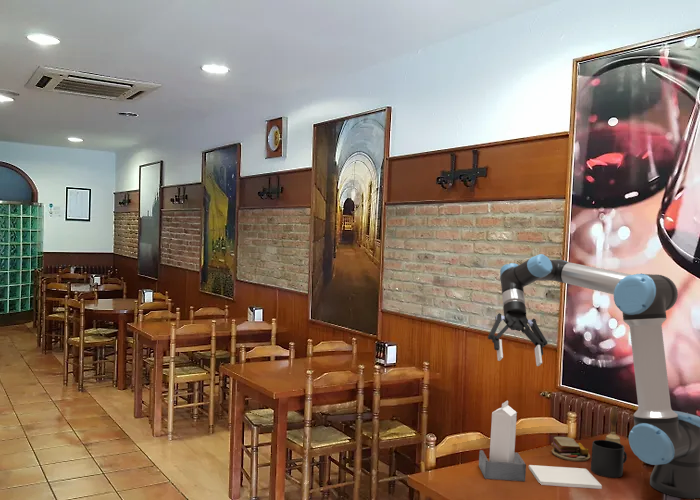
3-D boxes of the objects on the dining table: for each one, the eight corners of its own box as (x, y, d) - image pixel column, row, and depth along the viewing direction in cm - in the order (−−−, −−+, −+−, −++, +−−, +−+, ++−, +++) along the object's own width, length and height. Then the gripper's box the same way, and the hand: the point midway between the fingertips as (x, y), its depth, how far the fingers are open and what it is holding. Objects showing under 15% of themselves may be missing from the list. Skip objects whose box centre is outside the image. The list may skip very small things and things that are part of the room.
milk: (513, 472, 197) (518, 402, 197) (507, 478, 192) (512, 405, 192) (494, 467, 200) (499, 398, 200) (487, 473, 195) (492, 402, 195)
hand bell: (595, 450, 224) (598, 405, 224) (606, 446, 230) (608, 402, 229) (618, 457, 218) (621, 411, 218) (629, 452, 224) (631, 407, 223)
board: (585, 471, 201) (585, 468, 201) (601, 488, 187) (601, 485, 187) (528, 468, 202) (528, 464, 202) (540, 484, 188) (540, 481, 188)
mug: (636, 477, 199) (637, 448, 199) (603, 478, 196) (605, 449, 196) (615, 466, 208) (617, 439, 208) (584, 467, 205) (586, 440, 205)
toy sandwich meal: (557, 461, 211) (558, 447, 211) (546, 448, 224) (547, 435, 224) (595, 464, 210) (596, 449, 210) (581, 450, 224) (582, 437, 224)
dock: (516, 468, 201) (517, 452, 201) (525, 481, 190) (526, 464, 190) (478, 465, 201) (479, 450, 201) (484, 478, 190) (485, 462, 190)
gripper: (542, 315, 225) (550, 371, 213) (476, 305, 221) (479, 361, 209) (552, 305, 218) (560, 362, 207) (483, 294, 215) (488, 352, 203)
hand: (520, 362), depth 208 cm, fingers open, 13 cm apart
